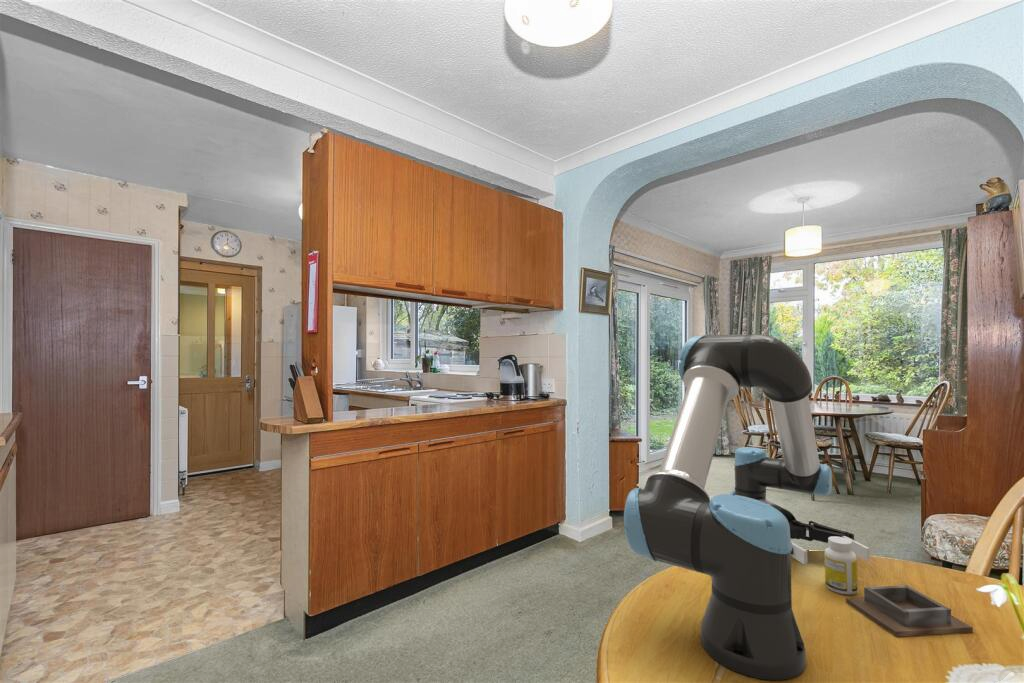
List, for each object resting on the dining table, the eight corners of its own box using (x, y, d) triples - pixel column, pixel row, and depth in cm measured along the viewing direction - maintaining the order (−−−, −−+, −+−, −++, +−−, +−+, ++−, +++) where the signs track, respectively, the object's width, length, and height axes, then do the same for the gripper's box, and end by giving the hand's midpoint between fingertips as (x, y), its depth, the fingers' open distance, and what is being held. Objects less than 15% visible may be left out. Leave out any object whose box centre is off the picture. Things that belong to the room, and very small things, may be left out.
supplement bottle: (847, 582, 100) (846, 535, 100) (863, 596, 95) (862, 545, 95) (819, 581, 101) (818, 534, 101) (834, 595, 96) (833, 544, 96)
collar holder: (896, 636, 82) (895, 616, 82) (846, 602, 93) (845, 584, 93) (972, 631, 83) (972, 612, 83) (914, 598, 94) (914, 581, 94)
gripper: (820, 533, 122) (894, 571, 101) (724, 537, 120) (779, 577, 99) (820, 502, 122) (893, 535, 101) (724, 506, 120) (779, 540, 99)
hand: (837, 556), depth 100 cm, fingers open, 13 cm apart
